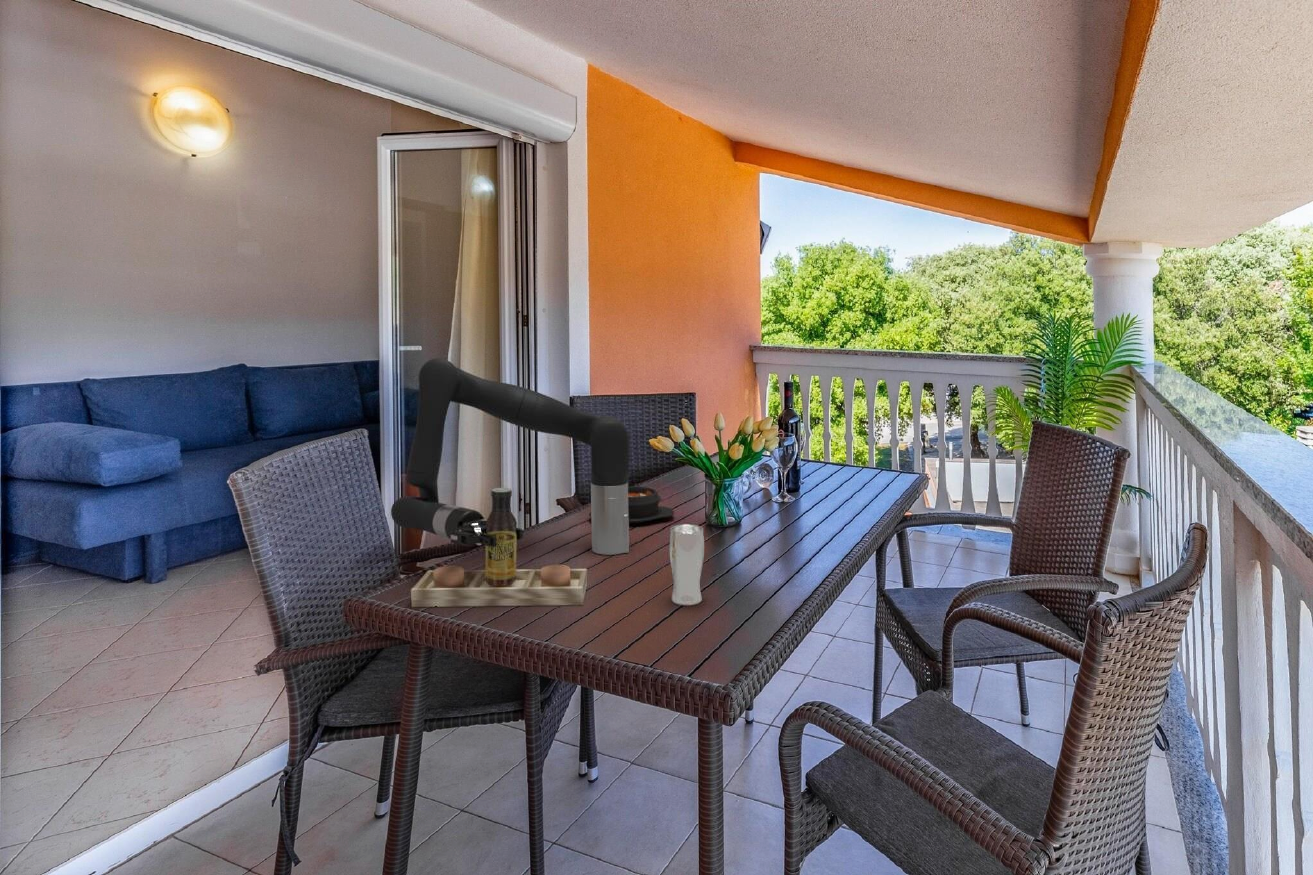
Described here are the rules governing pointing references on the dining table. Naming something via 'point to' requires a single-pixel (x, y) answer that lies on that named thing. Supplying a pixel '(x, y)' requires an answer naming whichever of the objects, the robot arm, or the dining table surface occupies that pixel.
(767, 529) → the dining table surface
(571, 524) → the dining table surface
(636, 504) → the casserole
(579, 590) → the rail
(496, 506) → the sauce bottle
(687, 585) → the beer glass
